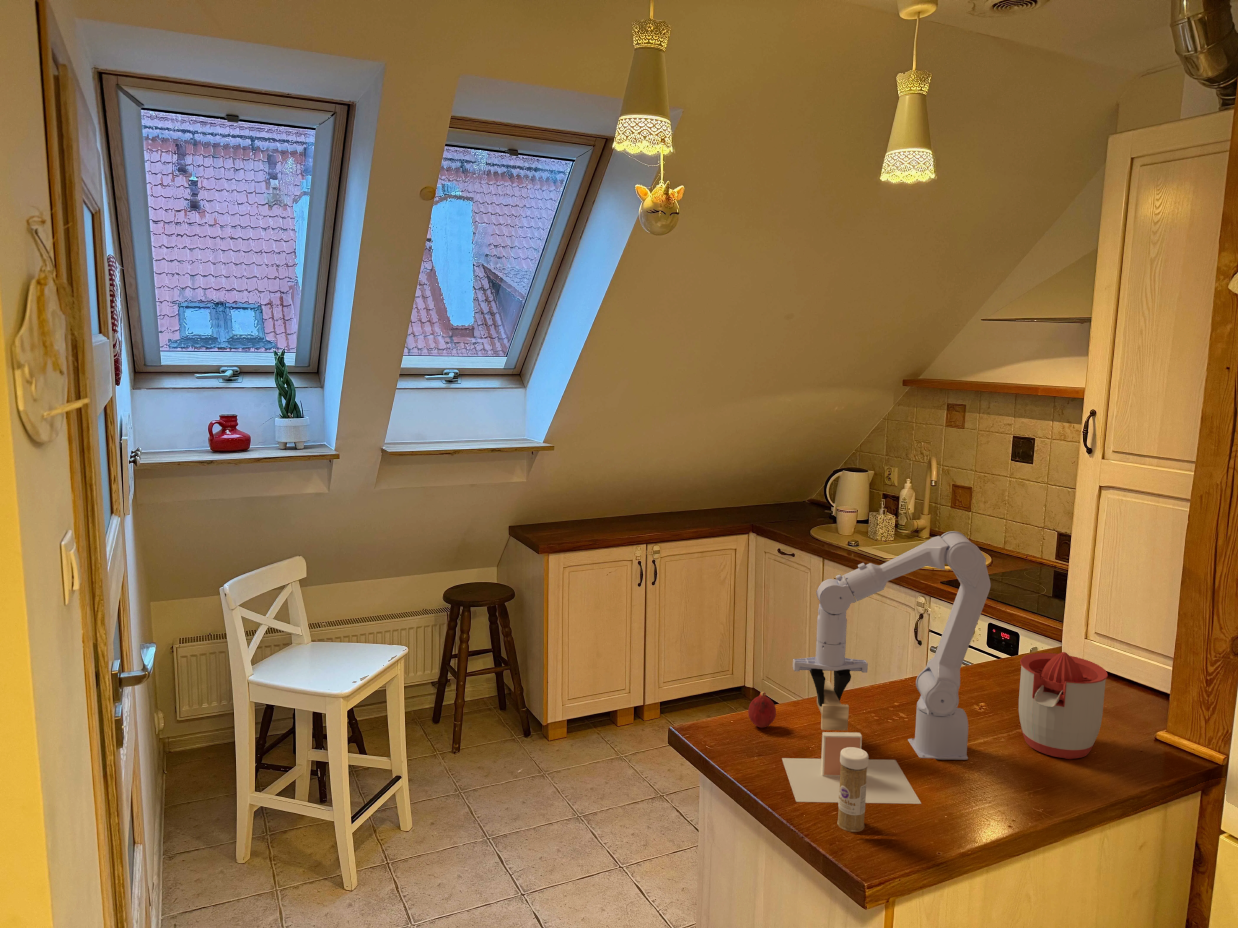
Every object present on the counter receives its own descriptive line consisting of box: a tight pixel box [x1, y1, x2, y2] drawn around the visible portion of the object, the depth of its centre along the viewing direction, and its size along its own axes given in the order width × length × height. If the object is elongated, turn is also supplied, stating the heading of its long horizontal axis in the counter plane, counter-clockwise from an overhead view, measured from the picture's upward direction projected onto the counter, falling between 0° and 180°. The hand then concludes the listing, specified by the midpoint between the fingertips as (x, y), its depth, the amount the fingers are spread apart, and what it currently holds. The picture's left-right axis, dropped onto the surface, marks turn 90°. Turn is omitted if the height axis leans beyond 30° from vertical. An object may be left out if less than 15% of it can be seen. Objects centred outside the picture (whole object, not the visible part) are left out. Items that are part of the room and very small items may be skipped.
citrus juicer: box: [1018, 651, 1109, 760], centre depth 175 cm, size 16×17×20 cm
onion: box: [747, 691, 777, 729], centre depth 184 cm, size 6×6×8 cm
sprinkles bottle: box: [836, 747, 869, 833], centre depth 147 cm, size 5×5×13 cm
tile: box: [820, 731, 863, 776], centre depth 164 cm, size 7×2×8 cm, turn 89°
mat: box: [781, 757, 922, 805], centre depth 162 cm, size 22×16×1 cm
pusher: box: [816, 680, 850, 731], centre depth 176 cm, size 5×12×5 cm, turn 178°
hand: (828, 704), depth 176 cm, fingers closed on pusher, 2 cm apart
